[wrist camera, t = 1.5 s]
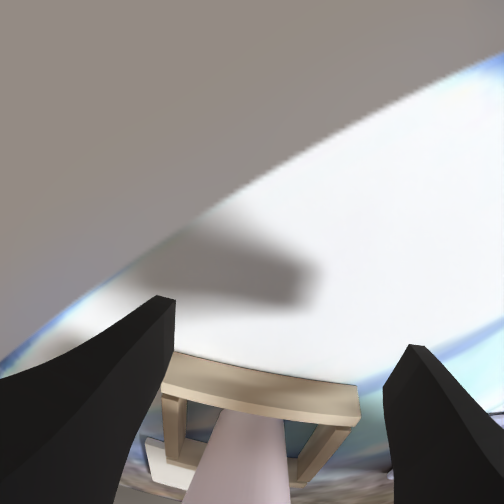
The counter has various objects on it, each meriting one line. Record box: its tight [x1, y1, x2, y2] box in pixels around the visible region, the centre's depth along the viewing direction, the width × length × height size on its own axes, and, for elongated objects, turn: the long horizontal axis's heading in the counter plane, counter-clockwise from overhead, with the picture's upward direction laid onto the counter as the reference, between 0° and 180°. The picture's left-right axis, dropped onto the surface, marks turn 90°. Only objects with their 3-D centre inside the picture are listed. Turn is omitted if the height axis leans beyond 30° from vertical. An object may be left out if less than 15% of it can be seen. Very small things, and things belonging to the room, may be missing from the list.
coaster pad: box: [145, 437, 196, 490], centre depth 20 cm, size 8×8×1 cm
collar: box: [161, 352, 361, 488], centre depth 15 cm, size 9×9×2 cm
